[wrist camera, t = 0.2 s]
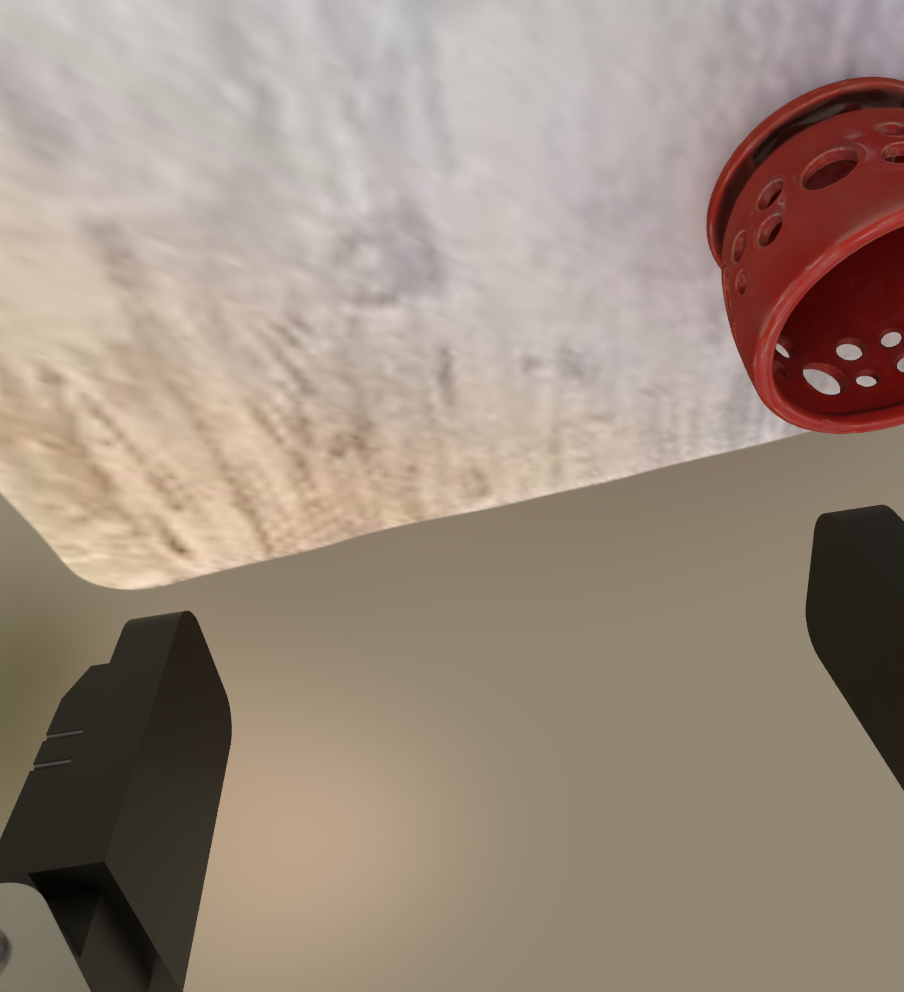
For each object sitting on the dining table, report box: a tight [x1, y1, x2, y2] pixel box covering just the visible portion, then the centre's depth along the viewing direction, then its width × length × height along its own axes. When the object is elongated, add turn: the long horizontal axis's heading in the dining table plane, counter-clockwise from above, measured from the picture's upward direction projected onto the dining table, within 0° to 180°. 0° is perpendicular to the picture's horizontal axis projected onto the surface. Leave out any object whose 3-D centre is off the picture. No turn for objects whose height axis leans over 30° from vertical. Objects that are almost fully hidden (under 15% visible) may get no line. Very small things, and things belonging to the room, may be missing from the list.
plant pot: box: [707, 77, 904, 434], centre depth 39 cm, size 13×13×12 cm
